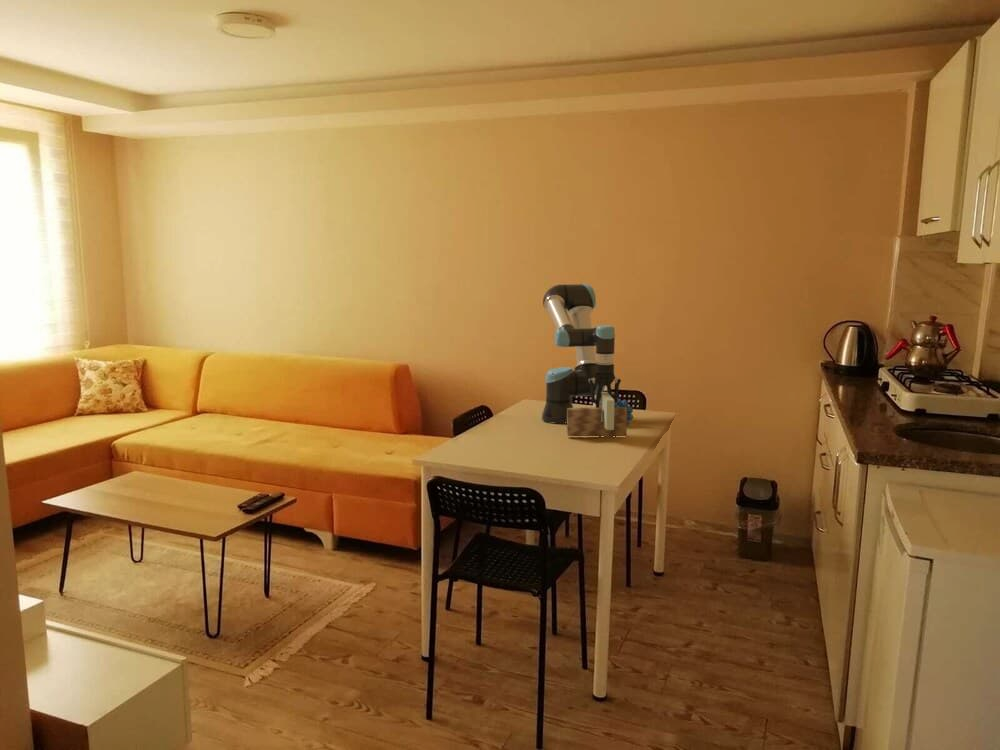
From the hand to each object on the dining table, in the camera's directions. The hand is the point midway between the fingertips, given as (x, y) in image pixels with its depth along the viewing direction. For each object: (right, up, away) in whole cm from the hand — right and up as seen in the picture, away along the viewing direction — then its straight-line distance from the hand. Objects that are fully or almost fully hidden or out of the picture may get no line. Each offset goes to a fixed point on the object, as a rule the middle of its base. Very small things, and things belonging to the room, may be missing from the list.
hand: (603, 418), depth 302 cm
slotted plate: (0, -2, -6) cm, 6 cm away
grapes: (+9, -4, +13) cm, 16 cm away
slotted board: (-4, -7, -5) cm, 9 cm away
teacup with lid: (+8, +3, +49) cm, 50 cm away
